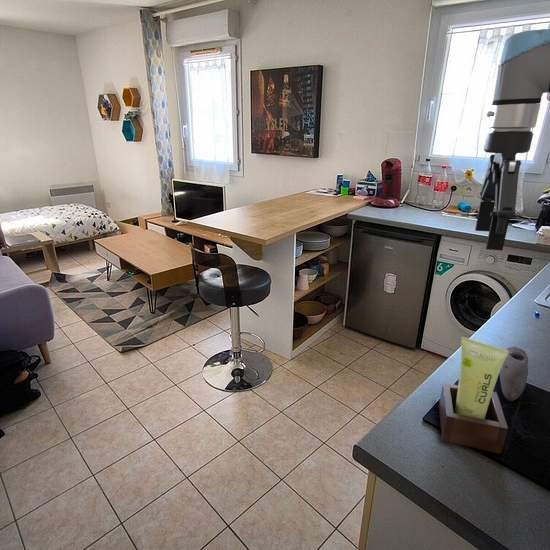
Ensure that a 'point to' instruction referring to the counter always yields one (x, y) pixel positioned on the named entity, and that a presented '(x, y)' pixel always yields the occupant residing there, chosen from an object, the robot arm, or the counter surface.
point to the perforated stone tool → (514, 373)
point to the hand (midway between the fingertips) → (487, 239)
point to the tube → (477, 377)
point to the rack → (472, 423)
